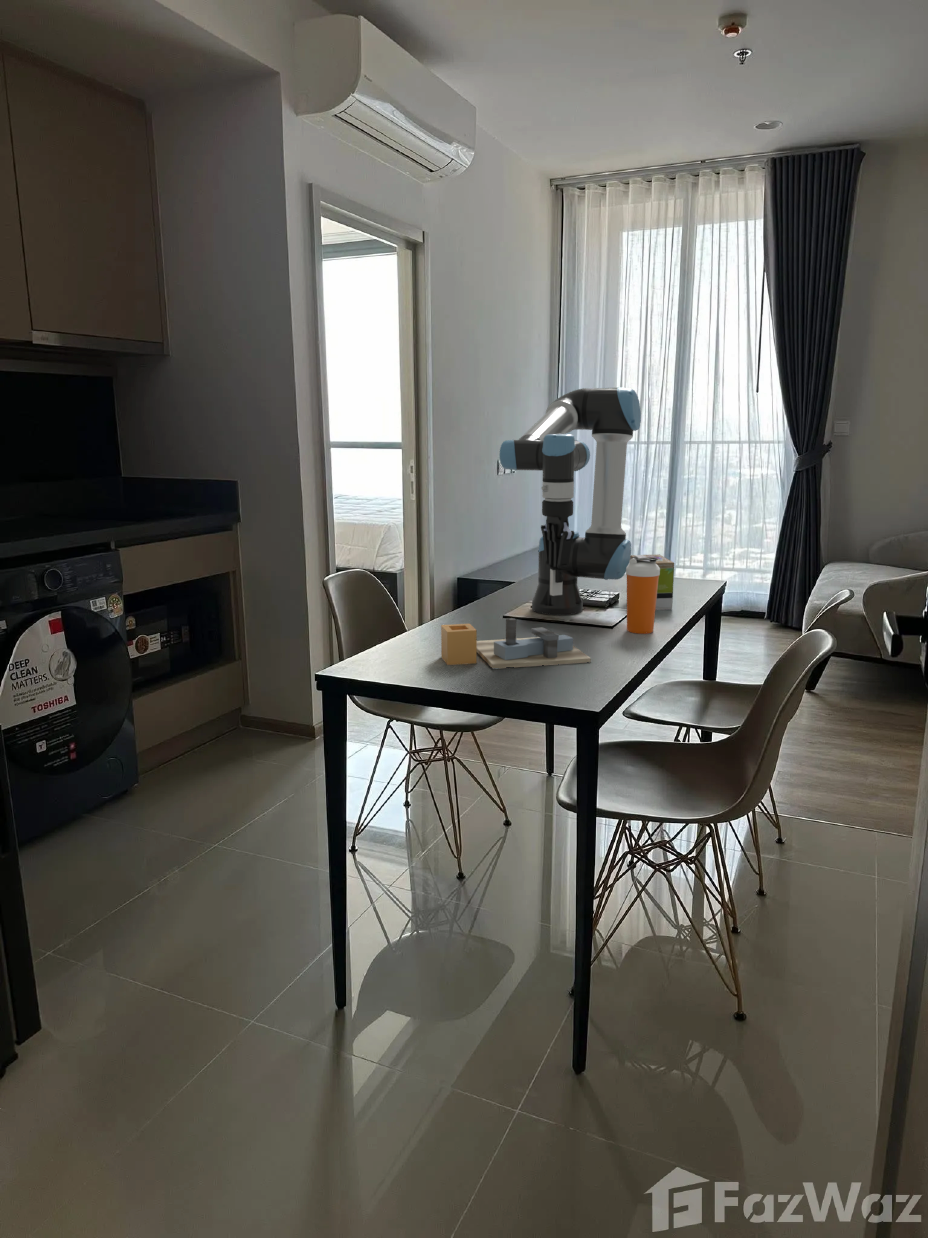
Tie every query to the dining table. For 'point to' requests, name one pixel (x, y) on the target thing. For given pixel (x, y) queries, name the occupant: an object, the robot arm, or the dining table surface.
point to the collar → (458, 644)
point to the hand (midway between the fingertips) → (556, 594)
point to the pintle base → (547, 658)
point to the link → (529, 647)
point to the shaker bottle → (641, 594)
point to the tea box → (663, 581)
